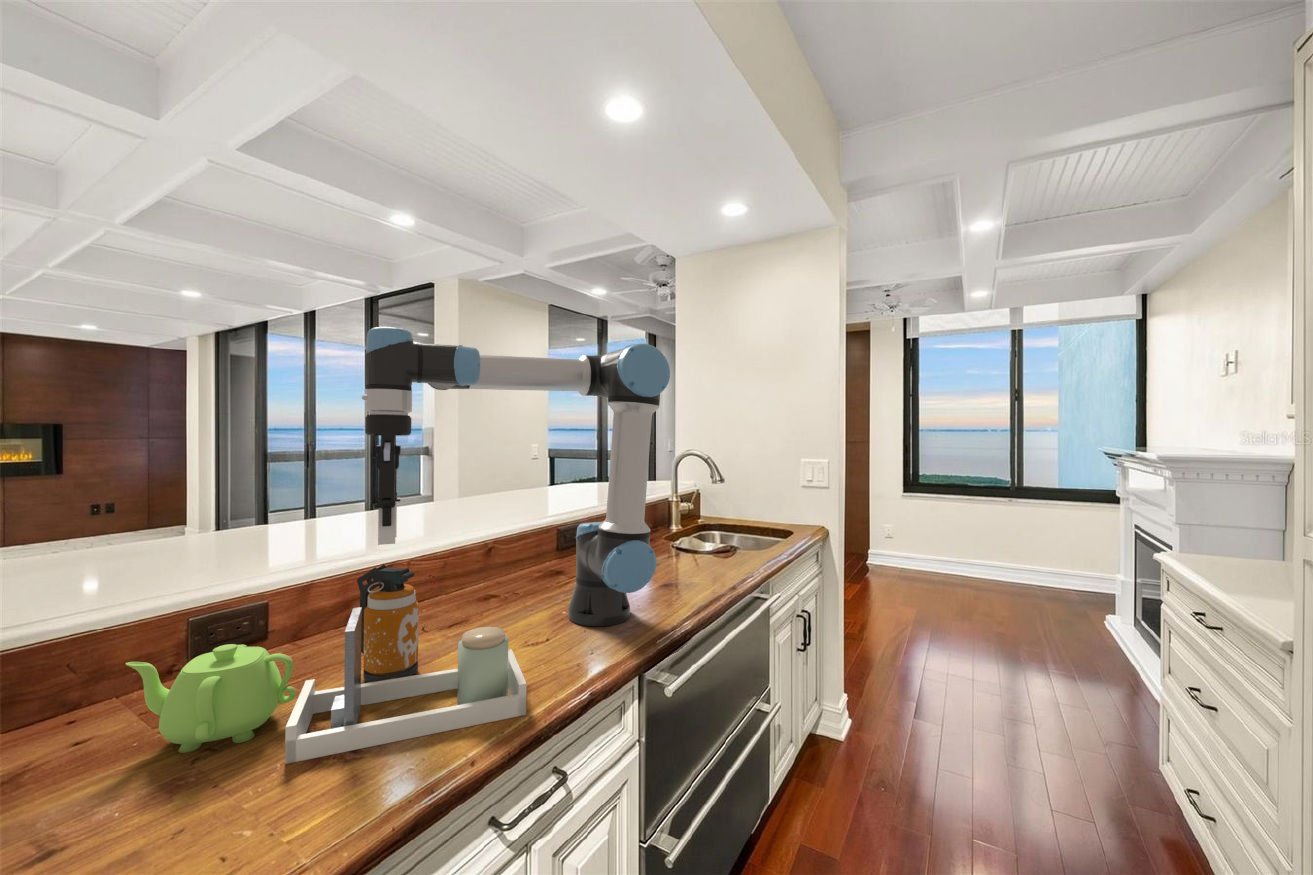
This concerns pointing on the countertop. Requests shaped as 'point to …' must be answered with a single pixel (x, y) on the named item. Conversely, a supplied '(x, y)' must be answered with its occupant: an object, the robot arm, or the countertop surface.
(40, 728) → the countertop surface
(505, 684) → the jar
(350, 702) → the panel
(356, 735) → the white rectangular frame
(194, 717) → the teapot
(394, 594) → the canister
